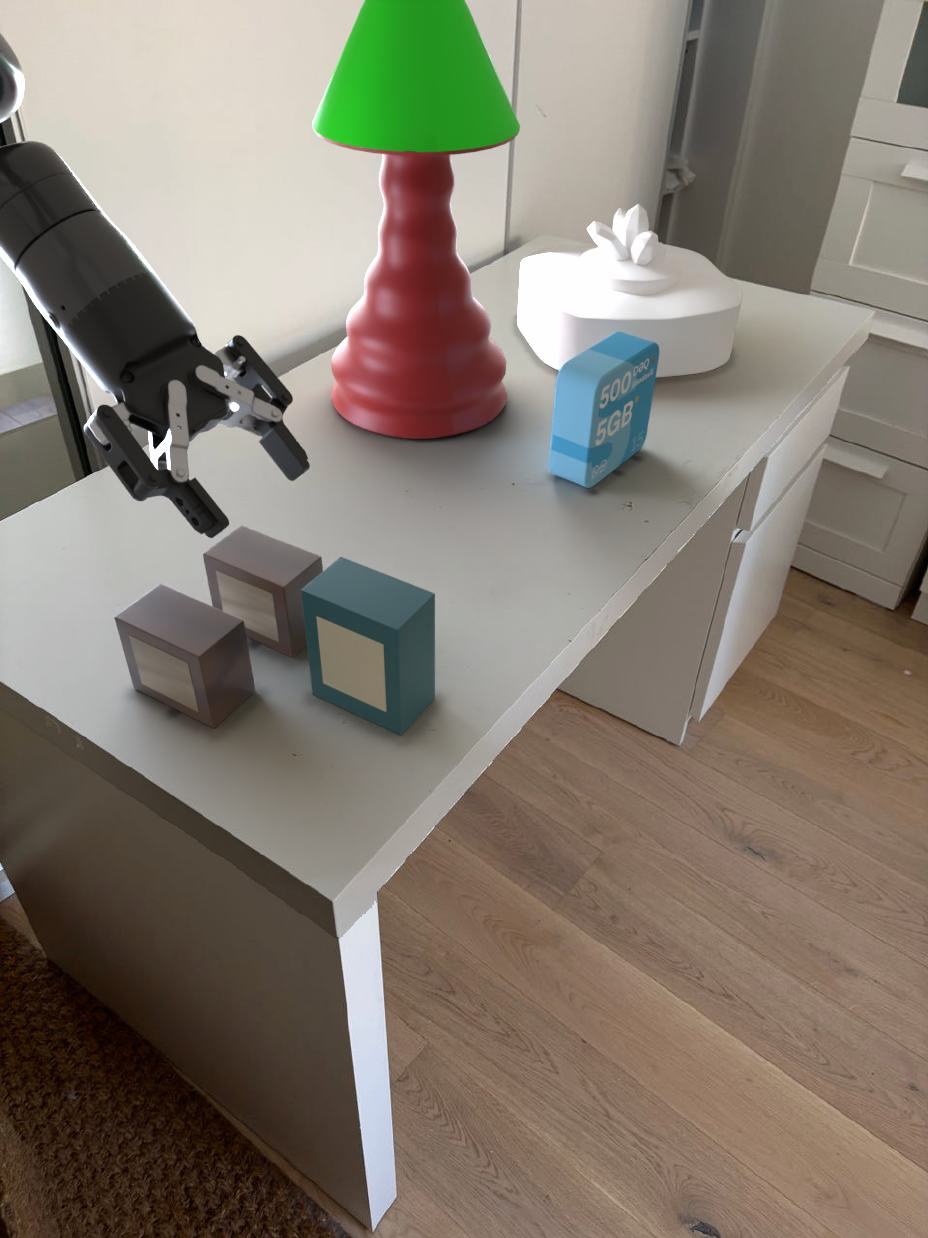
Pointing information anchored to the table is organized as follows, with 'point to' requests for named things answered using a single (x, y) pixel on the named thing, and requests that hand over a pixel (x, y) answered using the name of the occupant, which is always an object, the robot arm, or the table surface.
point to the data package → (602, 408)
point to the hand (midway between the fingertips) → (263, 501)
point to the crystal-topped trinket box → (628, 298)
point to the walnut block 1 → (186, 654)
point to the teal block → (370, 643)
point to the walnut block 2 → (262, 586)
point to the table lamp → (417, 219)
